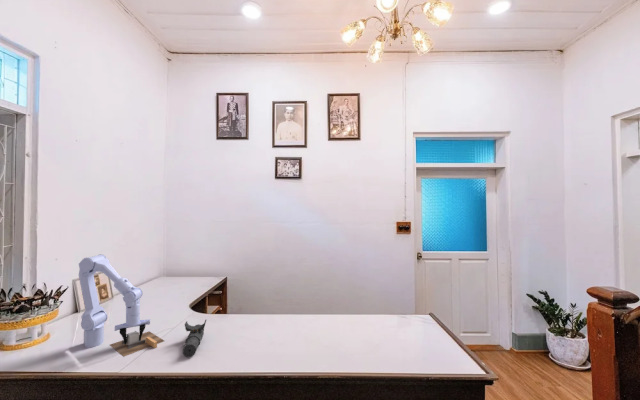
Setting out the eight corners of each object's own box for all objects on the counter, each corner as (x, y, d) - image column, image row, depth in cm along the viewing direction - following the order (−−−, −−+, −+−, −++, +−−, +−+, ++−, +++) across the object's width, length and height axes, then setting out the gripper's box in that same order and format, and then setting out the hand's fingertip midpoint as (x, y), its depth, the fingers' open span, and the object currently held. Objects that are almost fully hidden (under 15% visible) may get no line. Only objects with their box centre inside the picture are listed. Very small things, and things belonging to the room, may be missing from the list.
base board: (109, 346, 138) (109, 341, 138) (149, 333, 153) (149, 328, 153) (123, 358, 128) (123, 353, 128) (164, 342, 142) (164, 337, 142)
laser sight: (177, 358, 128) (177, 336, 128) (188, 336, 150) (188, 317, 150) (200, 355, 130) (200, 334, 130) (208, 333, 152) (208, 315, 152)
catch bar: (146, 342, 140) (146, 337, 140) (148, 341, 141) (148, 336, 141) (154, 348, 135) (154, 342, 135) (157, 347, 136) (157, 341, 136)
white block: (126, 344, 139) (126, 333, 139) (135, 340, 142) (135, 330, 142) (129, 346, 137) (129, 336, 137) (139, 343, 140) (139, 332, 140)
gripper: (150, 308, 147) (150, 334, 147) (115, 314, 139) (115, 341, 139) (150, 313, 141) (150, 340, 141) (114, 319, 133) (114, 348, 133)
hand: (132, 341), depth 139 cm, fingers closed on white block, 5 cm apart
